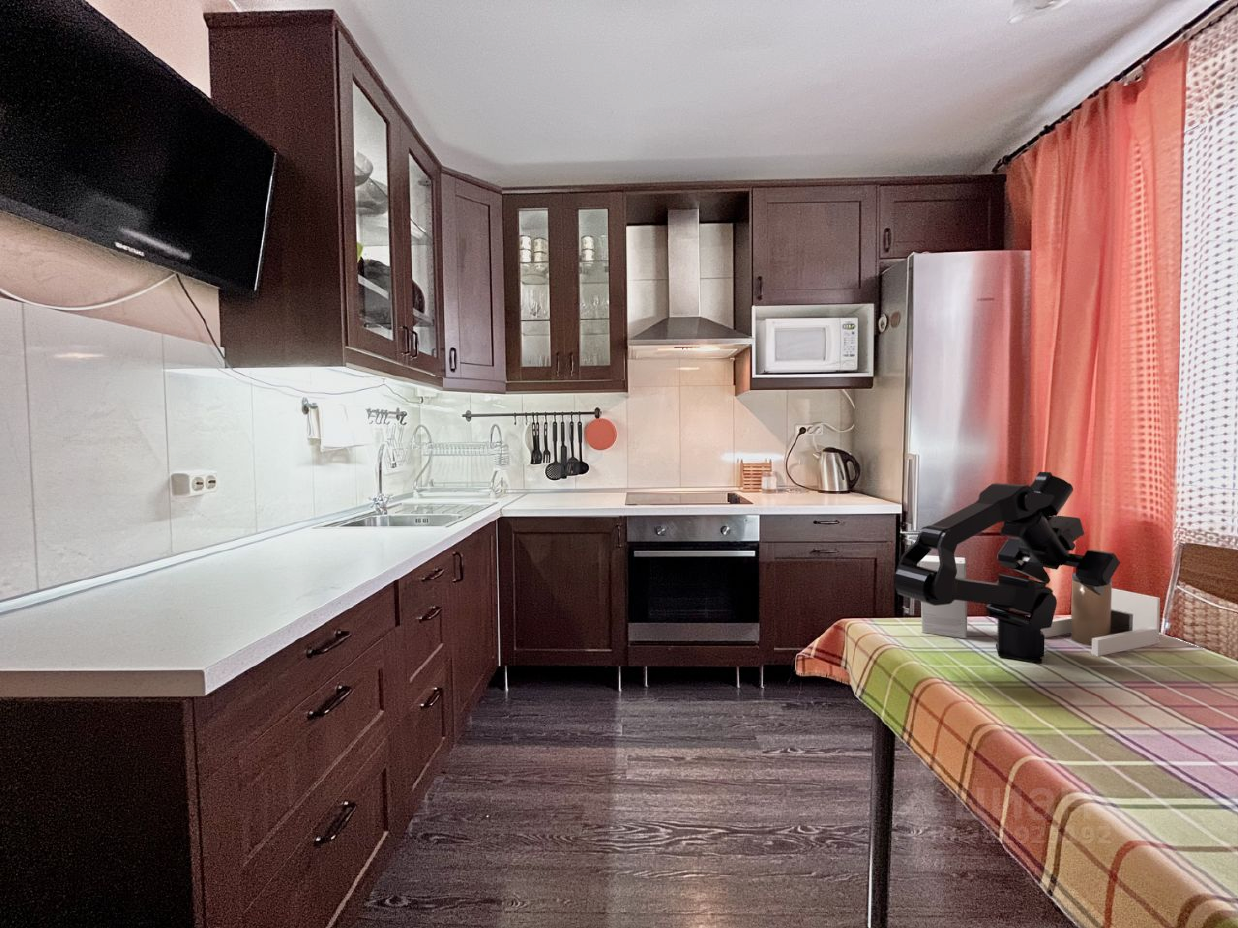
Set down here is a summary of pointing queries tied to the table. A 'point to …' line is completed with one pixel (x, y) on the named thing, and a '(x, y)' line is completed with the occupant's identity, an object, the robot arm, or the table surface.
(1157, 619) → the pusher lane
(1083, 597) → the jar
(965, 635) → the skincare box
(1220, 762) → the table surface
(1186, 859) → the table surface
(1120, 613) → the pusher paddle
